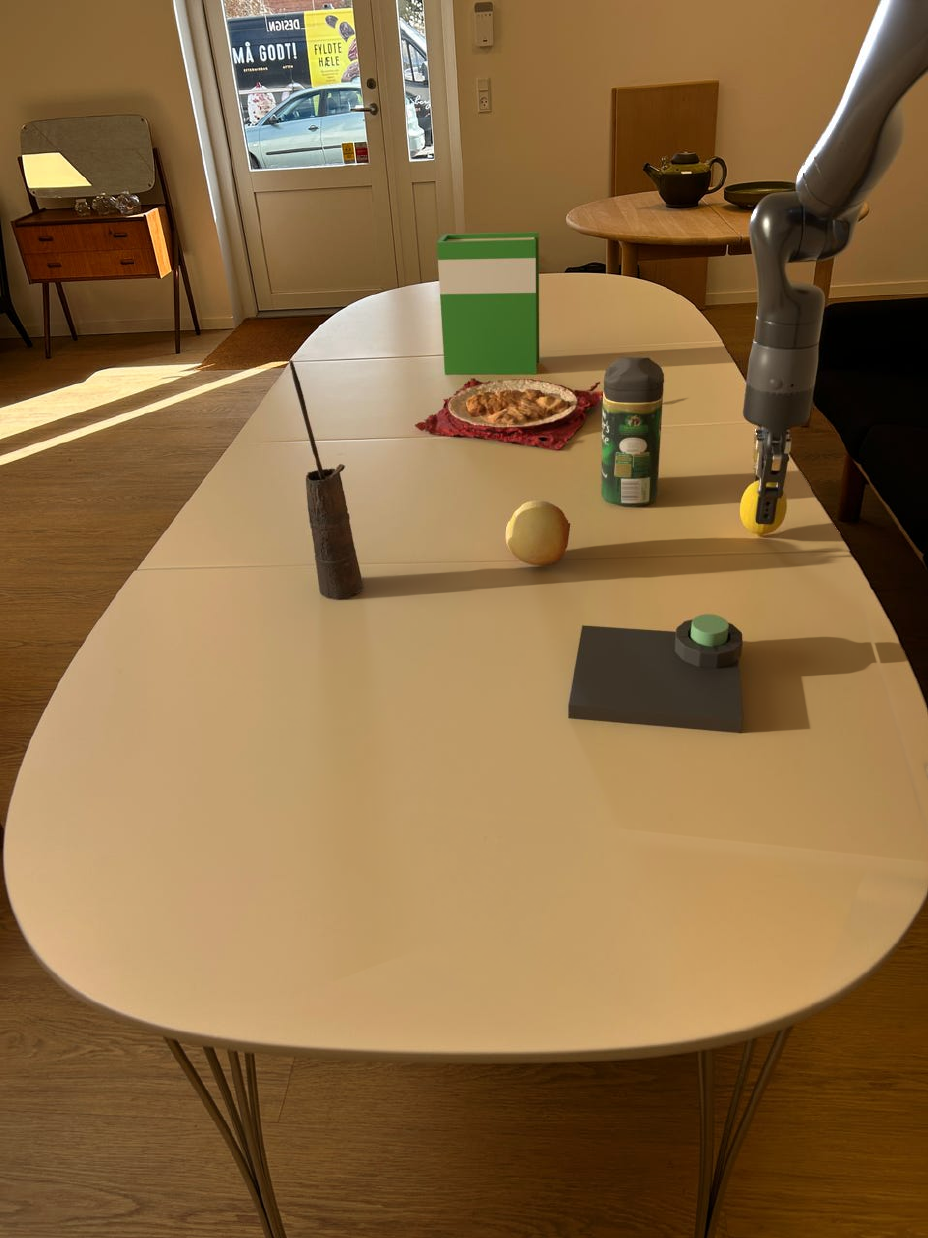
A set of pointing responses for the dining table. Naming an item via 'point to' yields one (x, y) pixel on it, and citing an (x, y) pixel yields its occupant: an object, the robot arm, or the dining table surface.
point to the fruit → (538, 533)
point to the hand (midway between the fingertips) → (762, 511)
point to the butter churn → (329, 523)
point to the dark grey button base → (657, 679)
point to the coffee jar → (631, 431)
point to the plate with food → (513, 412)
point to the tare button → (709, 630)
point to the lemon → (749, 510)
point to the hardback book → (489, 302)
